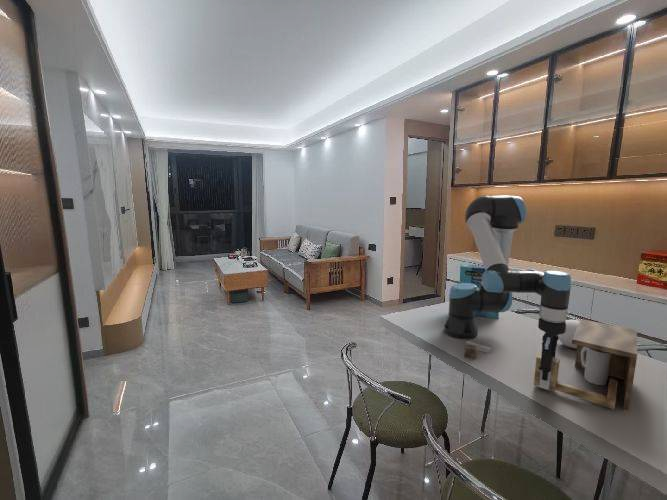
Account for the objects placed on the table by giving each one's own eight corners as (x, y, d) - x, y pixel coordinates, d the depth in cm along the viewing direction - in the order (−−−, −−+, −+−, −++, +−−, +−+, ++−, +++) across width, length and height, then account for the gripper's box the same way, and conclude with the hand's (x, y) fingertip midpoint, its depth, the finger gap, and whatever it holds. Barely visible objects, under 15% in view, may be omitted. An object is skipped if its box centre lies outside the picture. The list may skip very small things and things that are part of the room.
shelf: (566, 391, 111) (572, 339, 108) (575, 364, 129) (580, 319, 126) (628, 411, 101) (637, 354, 98) (629, 379, 119) (636, 329, 116)
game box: (498, 315, 182) (502, 266, 178) (498, 319, 176) (502, 269, 172) (458, 310, 190) (461, 263, 186) (457, 314, 184) (460, 265, 180)
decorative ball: (593, 355, 136) (597, 327, 135) (559, 350, 141) (562, 323, 139) (583, 343, 148) (586, 317, 146) (552, 339, 152) (554, 314, 150)
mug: (612, 385, 115) (617, 352, 113) (595, 386, 114) (599, 353, 112) (587, 370, 125) (591, 339, 123) (571, 371, 124) (574, 341, 122)
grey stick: (465, 346, 146) (465, 342, 145) (467, 344, 147) (467, 340, 147) (488, 353, 139) (489, 349, 139) (490, 352, 140) (491, 347, 140)
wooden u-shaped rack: (533, 384, 113) (536, 357, 112) (542, 368, 124) (544, 343, 122) (614, 411, 99) (618, 380, 98) (616, 390, 110) (620, 362, 108)
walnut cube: (464, 357, 135) (465, 348, 135) (465, 353, 139) (466, 344, 138) (475, 359, 134) (475, 350, 133) (475, 355, 137) (476, 346, 137)
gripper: (562, 329, 100) (554, 401, 104) (570, 314, 113) (562, 378, 116) (533, 323, 105) (526, 391, 109) (544, 309, 118) (537, 371, 121)
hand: (545, 384), depth 113 cm, fingers closed on wooden u-shaped rack, 4 cm apart
